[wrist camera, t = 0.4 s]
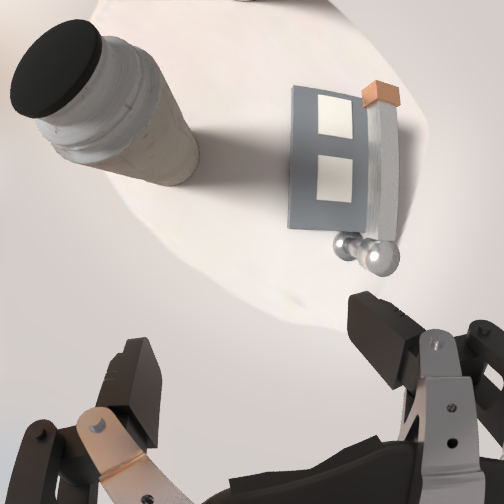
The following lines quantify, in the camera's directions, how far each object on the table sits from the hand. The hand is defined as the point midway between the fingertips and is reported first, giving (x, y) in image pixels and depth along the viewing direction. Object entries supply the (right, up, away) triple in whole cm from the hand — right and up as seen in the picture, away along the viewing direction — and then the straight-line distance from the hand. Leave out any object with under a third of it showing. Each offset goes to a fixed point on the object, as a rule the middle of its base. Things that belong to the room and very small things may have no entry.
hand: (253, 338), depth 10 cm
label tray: (+11, +16, +26) cm, 32 cm away
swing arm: (+15, +12, +20) cm, 27 cm away
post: (+14, +4, +28) cm, 31 cm away
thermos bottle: (-11, +16, +24) cm, 31 cm away
